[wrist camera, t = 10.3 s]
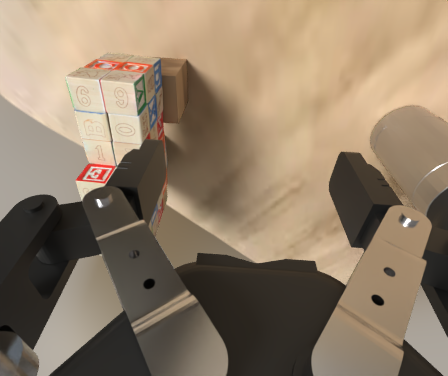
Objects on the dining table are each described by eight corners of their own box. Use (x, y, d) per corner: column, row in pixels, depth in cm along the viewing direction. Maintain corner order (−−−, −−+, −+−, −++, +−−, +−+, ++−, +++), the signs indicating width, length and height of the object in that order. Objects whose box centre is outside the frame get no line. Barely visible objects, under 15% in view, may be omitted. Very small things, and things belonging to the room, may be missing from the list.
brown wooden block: (186, 59, 38) (175, 76, 32) (188, 101, 42) (178, 123, 36) (144, 56, 38) (124, 72, 32) (149, 98, 42) (133, 120, 36)
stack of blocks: (106, 50, 31) (43, 86, 21) (161, 57, 31) (124, 95, 21) (129, 195, 44) (98, 257, 34) (168, 199, 44) (147, 262, 34)
